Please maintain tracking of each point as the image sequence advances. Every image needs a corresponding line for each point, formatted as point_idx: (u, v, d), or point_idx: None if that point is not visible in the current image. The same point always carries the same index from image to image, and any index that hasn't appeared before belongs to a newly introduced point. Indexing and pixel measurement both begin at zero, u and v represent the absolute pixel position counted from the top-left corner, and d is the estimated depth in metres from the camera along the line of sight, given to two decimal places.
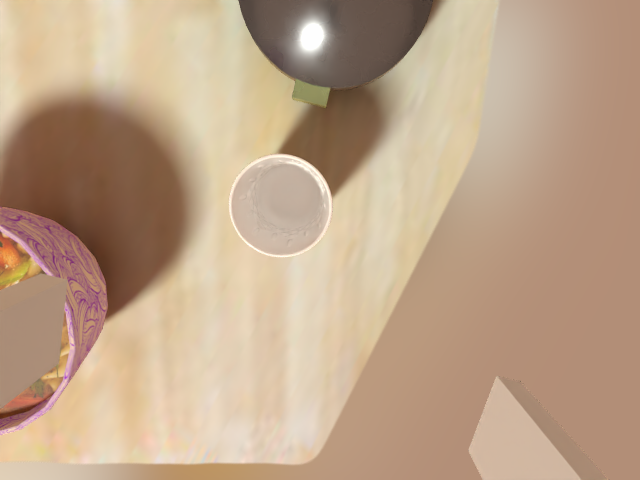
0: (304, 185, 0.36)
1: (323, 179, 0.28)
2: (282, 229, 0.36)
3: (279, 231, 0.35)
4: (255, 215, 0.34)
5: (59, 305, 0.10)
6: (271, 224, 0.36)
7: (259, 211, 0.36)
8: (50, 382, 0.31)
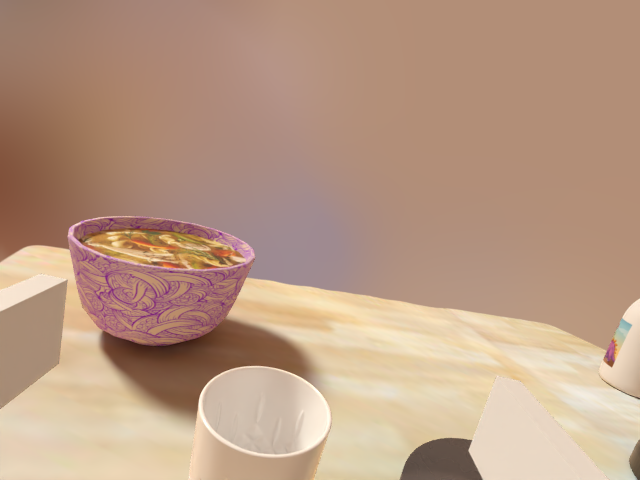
0: None
1: (312, 446, 0.20)
2: None
3: None
4: None
5: (59, 305, 0.10)
6: None
7: None
8: None
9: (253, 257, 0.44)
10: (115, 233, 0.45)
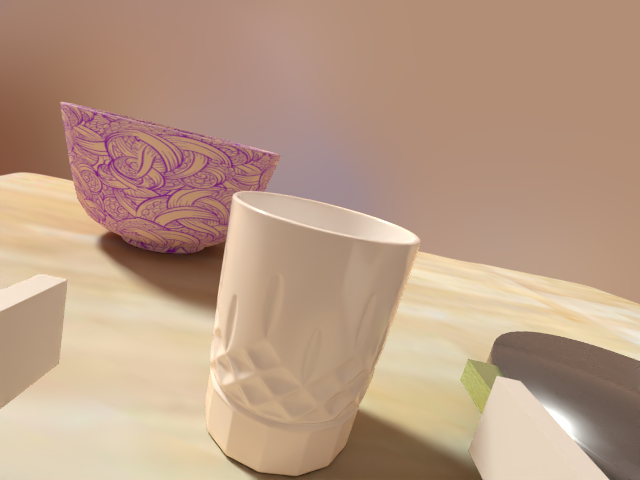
0: None
1: (405, 243, 0.13)
2: None
3: None
4: None
5: (58, 304, 0.10)
6: None
7: None
8: None
9: None
10: None
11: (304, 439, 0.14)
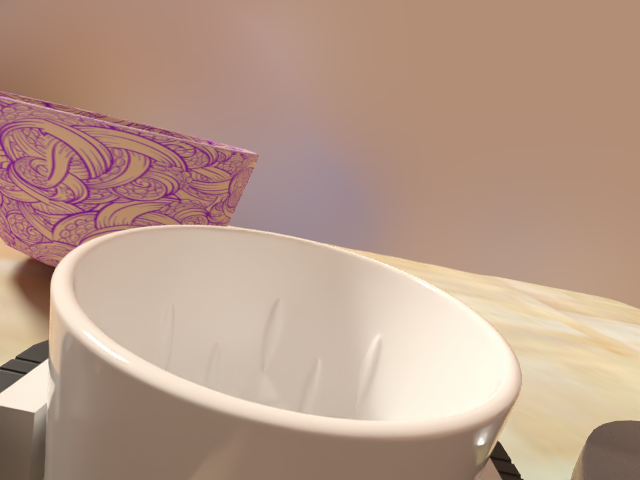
0: None
1: (503, 398, 0.05)
2: None
3: None
4: None
5: None
6: None
7: None
8: None
9: (256, 154, 0.29)
10: None
11: None
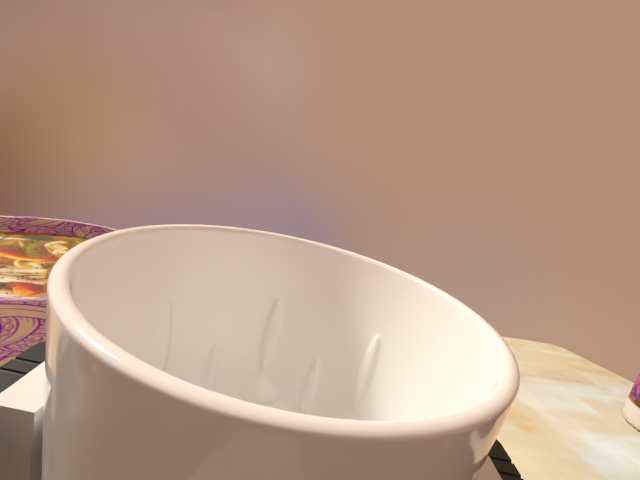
0: None
1: (500, 397, 0.05)
2: None
3: None
4: None
5: None
6: None
7: None
8: None
9: None
10: None
11: None
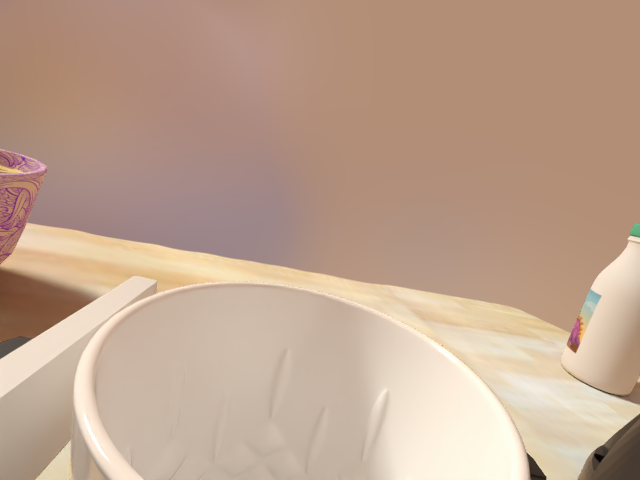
0: None
1: None
2: None
3: None
4: (201, 463, 0.11)
5: None
6: None
7: None
8: None
9: (19, 174, 0.30)
10: None
11: None
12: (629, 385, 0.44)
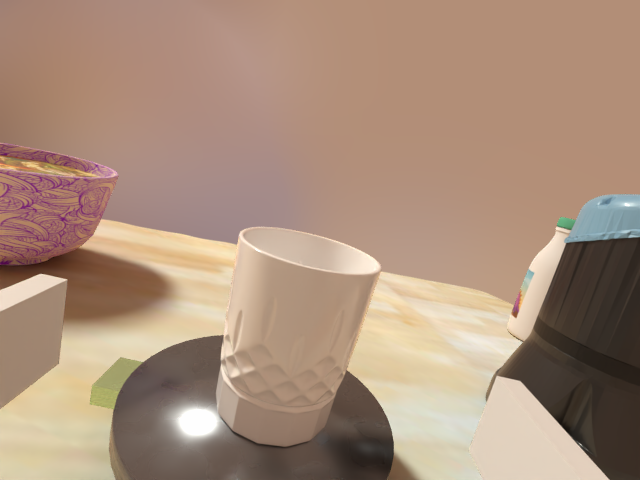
0: None
1: (365, 273, 0.18)
2: None
3: None
4: None
5: (58, 304, 0.10)
6: None
7: None
8: None
9: (107, 177, 0.43)
10: None
11: (292, 418, 0.19)
12: None
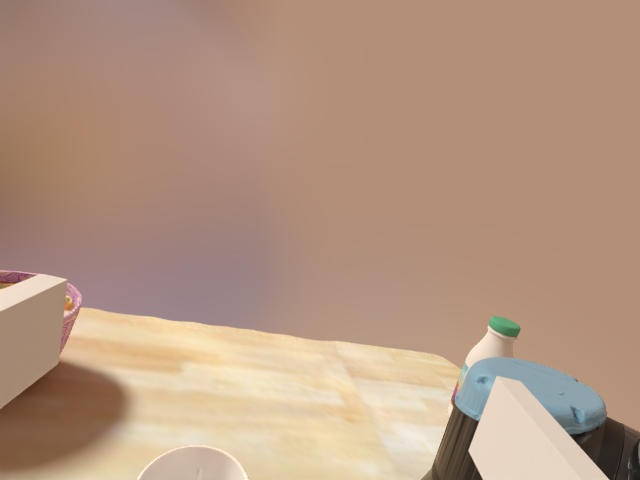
0: None
1: None
2: None
3: None
4: None
5: (58, 305, 0.10)
6: None
7: None
8: None
9: (69, 315, 0.48)
10: None
11: None
12: None
